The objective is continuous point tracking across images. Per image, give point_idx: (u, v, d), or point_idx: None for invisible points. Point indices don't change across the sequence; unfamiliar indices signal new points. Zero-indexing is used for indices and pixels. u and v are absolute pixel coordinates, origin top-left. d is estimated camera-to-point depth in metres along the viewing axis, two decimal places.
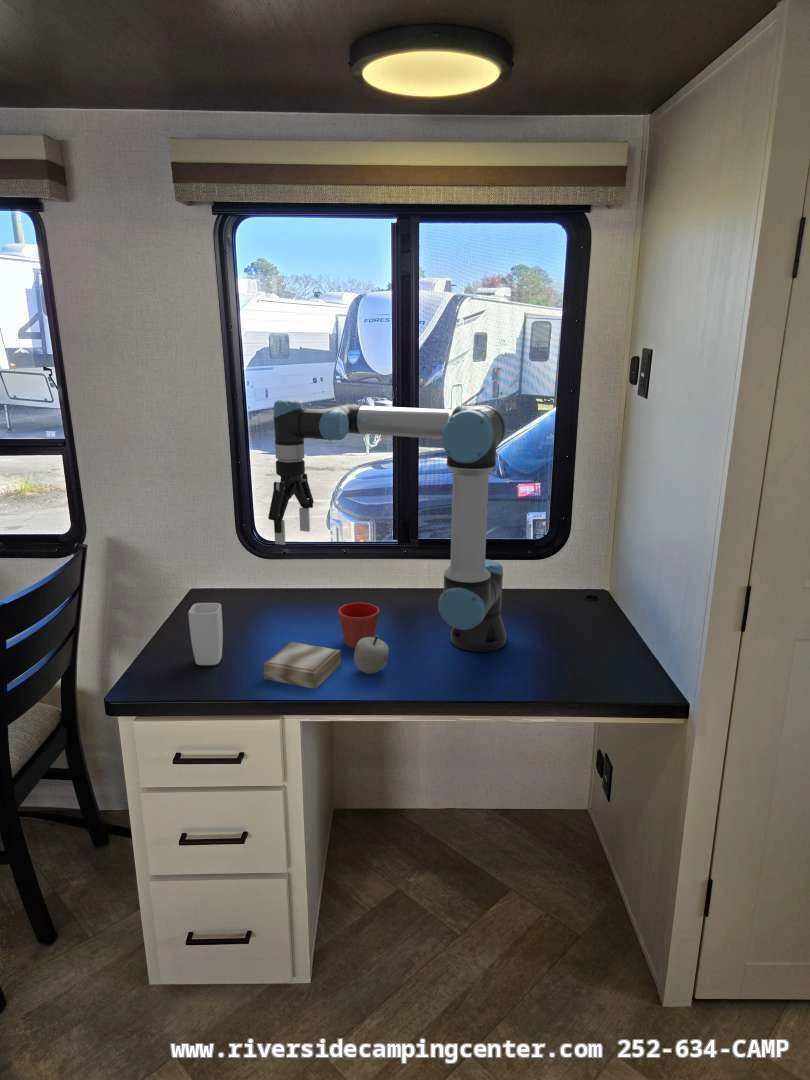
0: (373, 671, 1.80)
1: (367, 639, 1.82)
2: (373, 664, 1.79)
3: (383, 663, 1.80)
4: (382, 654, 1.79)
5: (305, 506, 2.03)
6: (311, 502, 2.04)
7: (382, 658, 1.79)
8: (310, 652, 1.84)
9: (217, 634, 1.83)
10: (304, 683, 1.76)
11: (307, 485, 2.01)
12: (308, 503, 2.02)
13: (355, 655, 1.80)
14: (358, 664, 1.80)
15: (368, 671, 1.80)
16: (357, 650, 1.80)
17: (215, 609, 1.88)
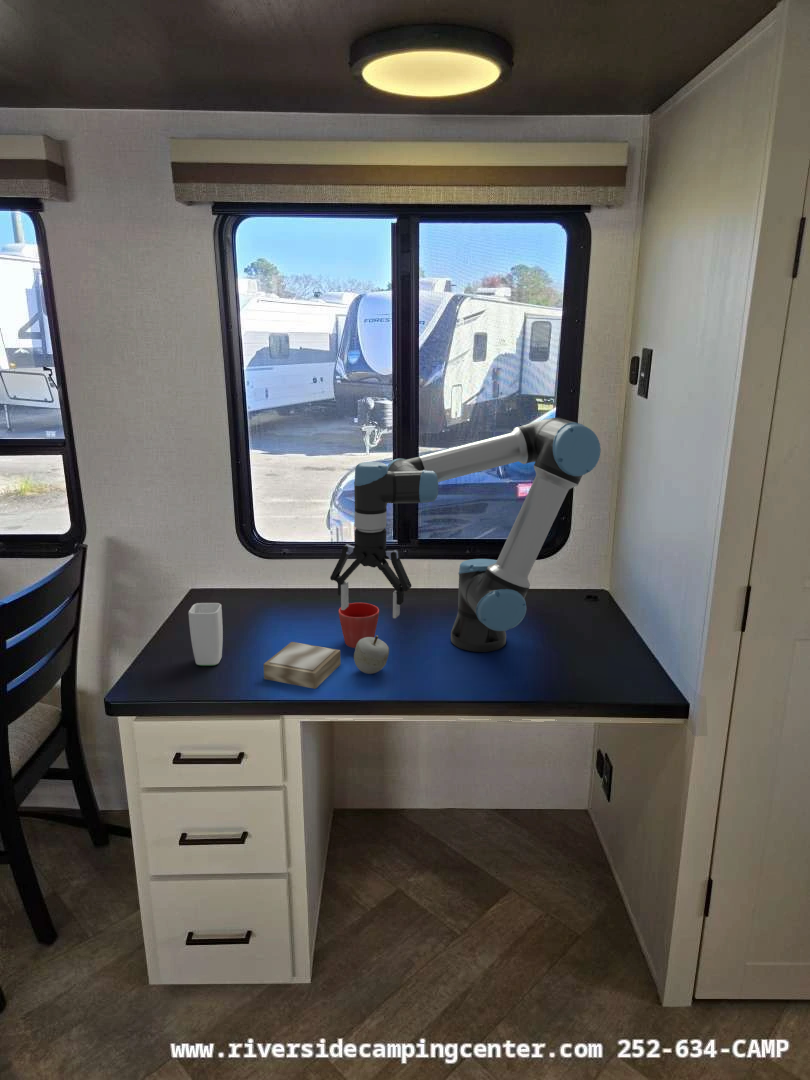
0: (373, 671, 1.80)
1: (367, 639, 1.82)
2: (373, 664, 1.79)
3: (383, 663, 1.80)
4: (382, 654, 1.79)
5: None
6: (403, 588, 1.73)
7: (382, 658, 1.79)
8: (310, 652, 1.84)
9: (217, 634, 1.83)
10: (304, 683, 1.76)
11: (395, 566, 1.72)
12: (396, 587, 1.73)
13: (355, 655, 1.80)
14: (358, 664, 1.80)
15: (368, 671, 1.80)
16: (357, 650, 1.80)
17: (215, 609, 1.88)
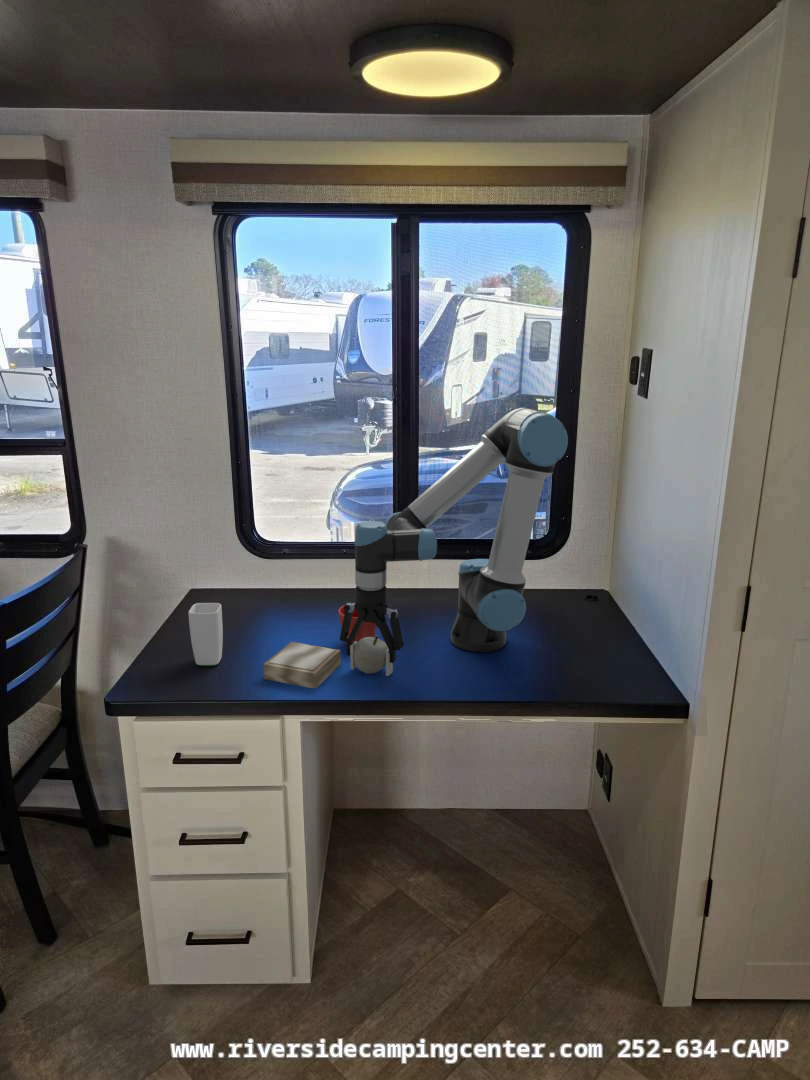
0: (373, 671, 1.80)
1: (367, 639, 1.82)
2: (373, 664, 1.79)
3: (383, 663, 1.80)
4: (382, 654, 1.79)
5: None
6: (395, 647, 1.78)
7: (382, 658, 1.79)
8: (310, 652, 1.84)
9: (217, 634, 1.83)
10: (304, 683, 1.76)
11: (393, 625, 1.77)
12: (389, 646, 1.78)
13: (355, 655, 1.80)
14: (358, 664, 1.80)
15: (368, 671, 1.80)
16: (357, 650, 1.80)
17: (215, 609, 1.88)
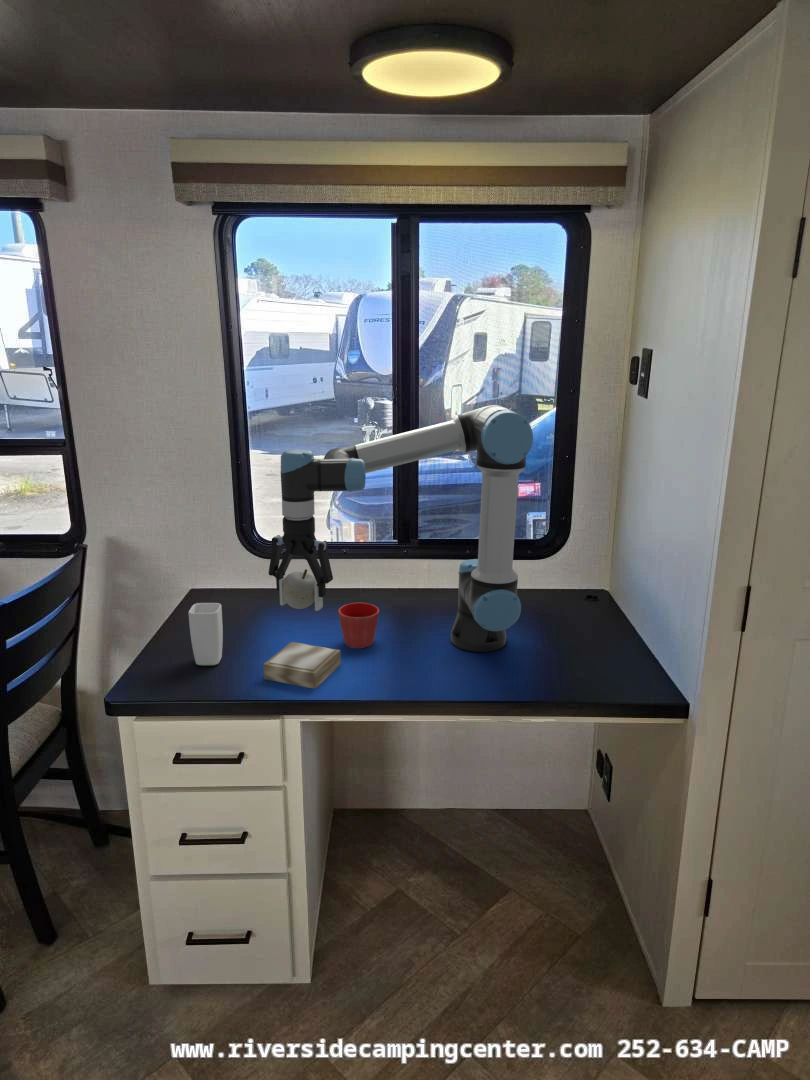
0: (302, 605, 1.75)
1: (296, 573, 1.77)
2: (301, 598, 1.74)
3: (312, 597, 1.75)
4: (310, 587, 1.74)
5: None
6: (324, 580, 1.73)
7: (310, 592, 1.74)
8: (310, 652, 1.84)
9: (217, 634, 1.83)
10: (304, 683, 1.76)
11: (320, 557, 1.72)
12: (317, 579, 1.74)
13: (283, 589, 1.75)
14: (286, 598, 1.75)
15: (296, 605, 1.75)
16: (285, 584, 1.75)
17: (215, 609, 1.88)
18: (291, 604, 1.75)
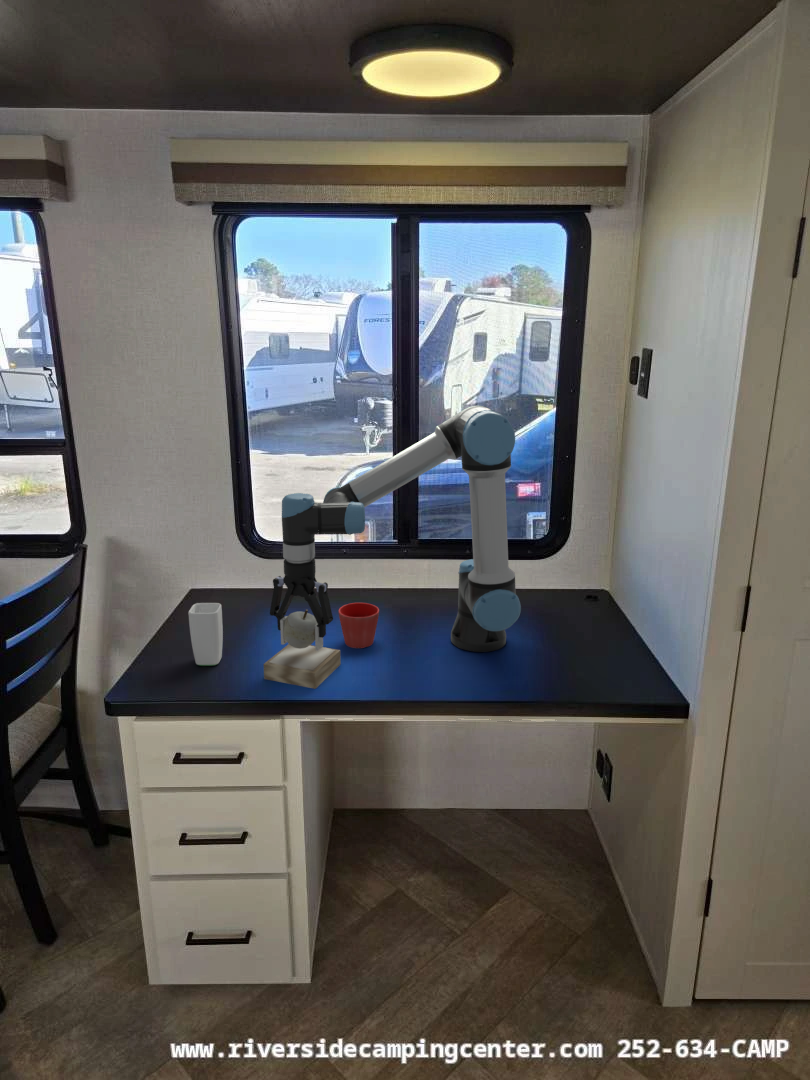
0: (302, 645, 1.78)
1: (297, 613, 1.80)
2: (302, 639, 1.77)
3: (312, 637, 1.78)
4: (310, 628, 1.77)
5: None
6: (324, 621, 1.76)
7: (311, 632, 1.77)
8: (310, 652, 1.84)
9: (217, 634, 1.83)
10: (304, 683, 1.76)
11: (321, 599, 1.75)
12: (318, 620, 1.76)
13: (284, 629, 1.78)
14: (287, 638, 1.78)
15: (297, 645, 1.78)
16: (286, 624, 1.78)
17: (215, 609, 1.88)
18: (292, 644, 1.78)
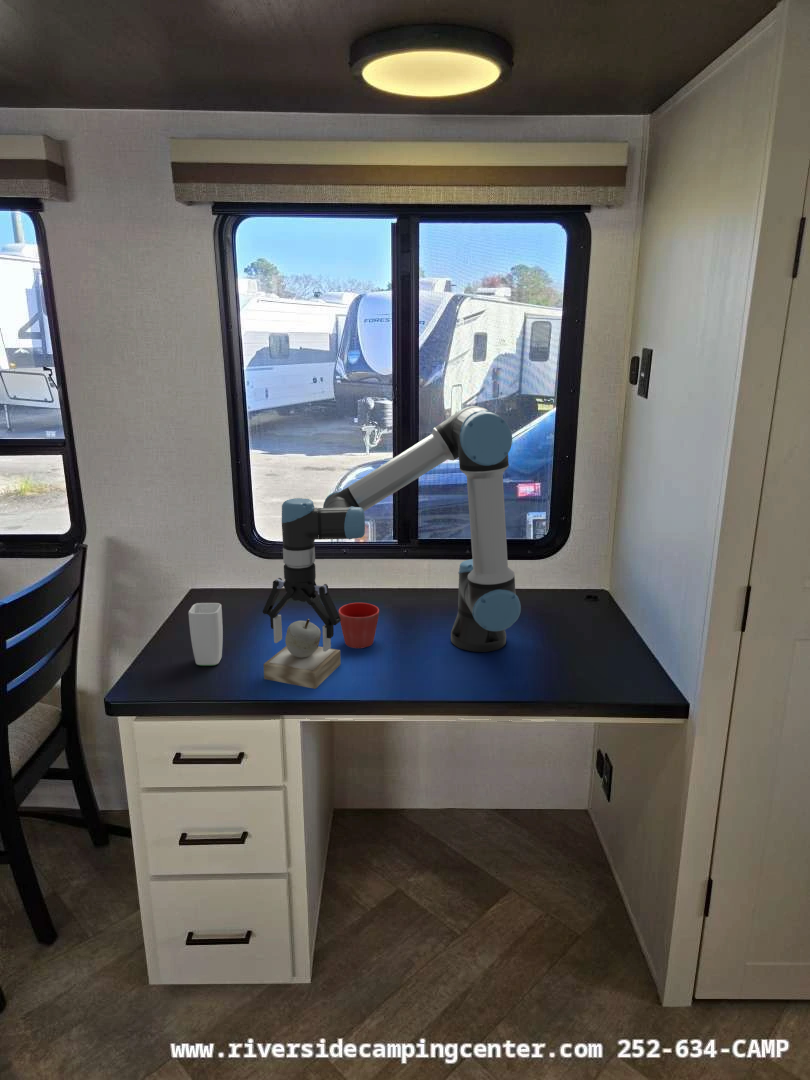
0: (304, 655, 1.79)
1: (299, 622, 1.80)
2: (303, 648, 1.77)
3: (314, 647, 1.79)
4: (312, 637, 1.77)
5: None
6: (332, 622, 1.75)
7: (313, 641, 1.77)
8: None
9: (217, 634, 1.83)
10: (304, 683, 1.76)
11: (324, 601, 1.74)
12: (325, 621, 1.76)
13: (286, 638, 1.79)
14: (288, 647, 1.79)
15: (299, 655, 1.79)
16: (288, 633, 1.78)
17: (215, 609, 1.88)
18: (294, 653, 1.79)
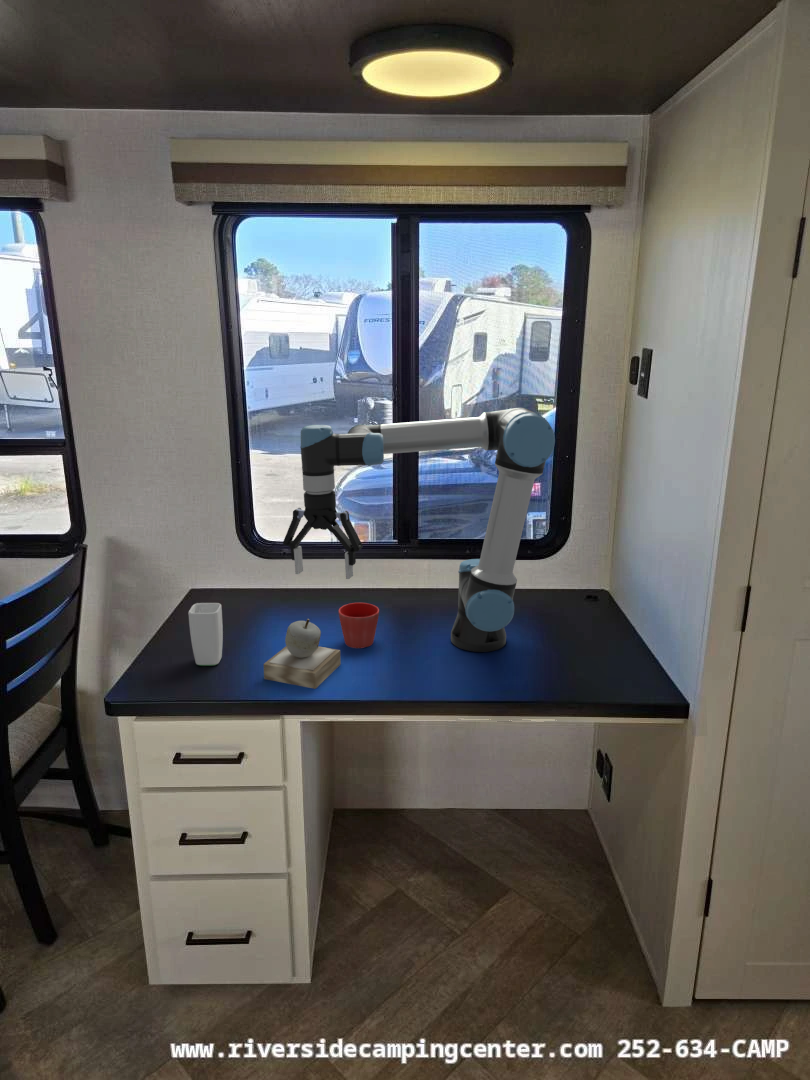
0: (304, 655, 1.79)
1: (298, 623, 1.80)
2: (303, 648, 1.77)
3: (314, 647, 1.79)
4: (312, 637, 1.77)
5: None
6: (354, 548, 1.75)
7: (313, 642, 1.77)
8: None
9: (217, 634, 1.83)
10: (304, 683, 1.76)
11: (345, 527, 1.74)
12: (347, 547, 1.76)
13: (286, 639, 1.79)
14: (288, 648, 1.79)
15: (299, 655, 1.79)
16: (288, 633, 1.78)
17: (215, 609, 1.88)
18: (294, 653, 1.79)
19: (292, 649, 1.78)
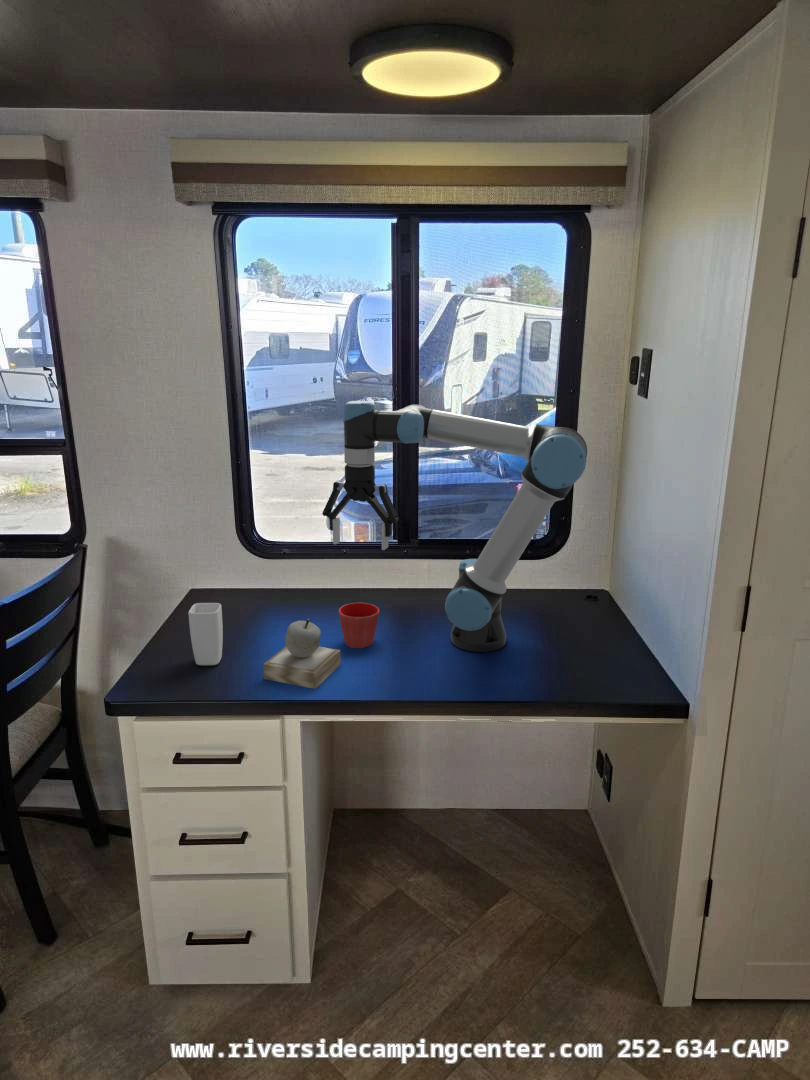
0: (304, 655, 1.79)
1: (298, 623, 1.80)
2: (303, 648, 1.77)
3: (314, 647, 1.79)
4: (312, 637, 1.77)
5: None
6: (391, 520, 1.83)
7: (313, 642, 1.77)
8: None
9: (217, 634, 1.83)
10: (304, 683, 1.76)
11: (383, 499, 1.82)
12: (384, 519, 1.83)
13: (286, 639, 1.79)
14: (288, 648, 1.79)
15: (299, 655, 1.79)
16: (288, 633, 1.78)
17: (215, 609, 1.88)
18: (294, 653, 1.79)
19: (292, 649, 1.78)
